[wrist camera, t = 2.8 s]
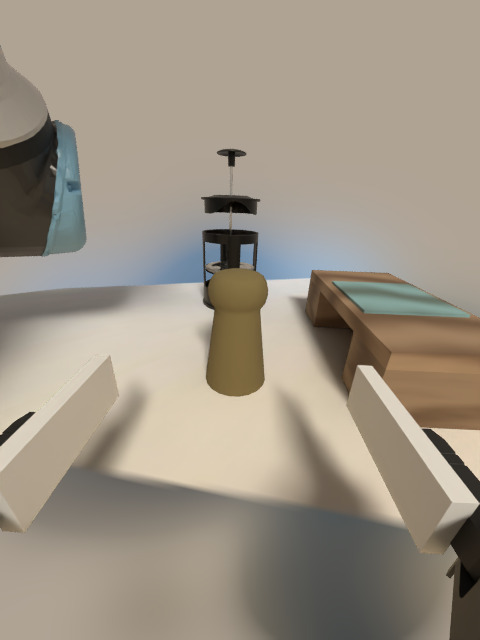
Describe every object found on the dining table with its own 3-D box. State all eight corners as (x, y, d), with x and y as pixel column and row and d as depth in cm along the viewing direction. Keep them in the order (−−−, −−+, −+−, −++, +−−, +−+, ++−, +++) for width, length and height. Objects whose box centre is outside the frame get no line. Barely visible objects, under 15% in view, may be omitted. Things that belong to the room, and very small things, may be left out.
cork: (215, 356, 29) (214, 261, 24) (267, 363, 28) (276, 265, 23) (197, 391, 23) (191, 276, 19) (261, 400, 22) (272, 283, 18)
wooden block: (514, 431, 20) (567, 356, 17) (366, 424, 20) (393, 348, 17) (376, 313, 42) (388, 271, 39) (305, 310, 42) (312, 268, 39)
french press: (262, 312, 41) (275, 144, 31) (205, 314, 39) (199, 138, 30) (247, 289, 51) (253, 159, 42) (201, 291, 50) (196, 155, 40)
